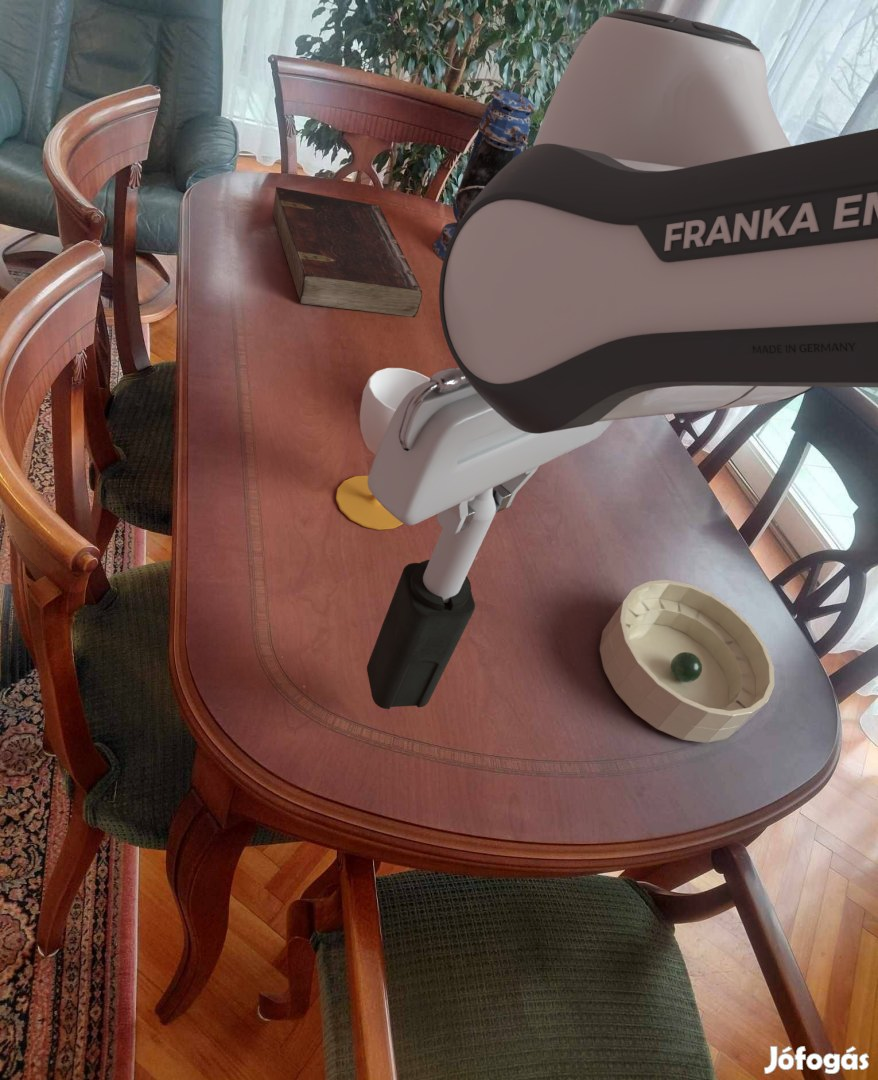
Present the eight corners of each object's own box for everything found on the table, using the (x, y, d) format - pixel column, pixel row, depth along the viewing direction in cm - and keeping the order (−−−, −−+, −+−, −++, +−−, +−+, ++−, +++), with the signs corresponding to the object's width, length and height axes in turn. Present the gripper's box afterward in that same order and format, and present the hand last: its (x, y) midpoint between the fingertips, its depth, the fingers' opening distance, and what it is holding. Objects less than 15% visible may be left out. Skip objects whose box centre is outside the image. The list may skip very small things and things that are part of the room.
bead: (678, 661, 81) (667, 683, 83) (708, 670, 81) (696, 692, 83) (676, 642, 84) (665, 664, 86) (705, 651, 84) (693, 672, 86)
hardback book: (416, 317, 125) (424, 289, 122) (300, 305, 118) (305, 275, 114) (375, 230, 143) (381, 203, 140) (272, 215, 136) (276, 186, 132)
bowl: (744, 772, 79) (777, 742, 75) (586, 704, 79) (611, 671, 75) (742, 650, 92) (771, 618, 88) (607, 592, 92) (629, 558, 88)
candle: (374, 710, 65) (465, 491, 48) (364, 659, 68) (446, 437, 51) (432, 707, 66) (539, 495, 50) (419, 657, 70) (516, 442, 53)
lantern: (510, 278, 145) (574, 107, 125) (454, 276, 139) (511, 96, 119) (473, 236, 154) (527, 70, 133) (418, 233, 148) (466, 58, 127)
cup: (417, 532, 90) (457, 423, 79) (339, 528, 87) (371, 413, 76) (404, 479, 96) (440, 371, 85) (331, 473, 93) (359, 360, 82)
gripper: (462, 419, 36) (392, 607, 45) (679, 338, 49) (590, 497, 58) (375, 345, 39) (325, 538, 48) (604, 287, 52) (530, 447, 61)
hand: (472, 515), depth 53 cm, fingers closed on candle, 3 cm apart
